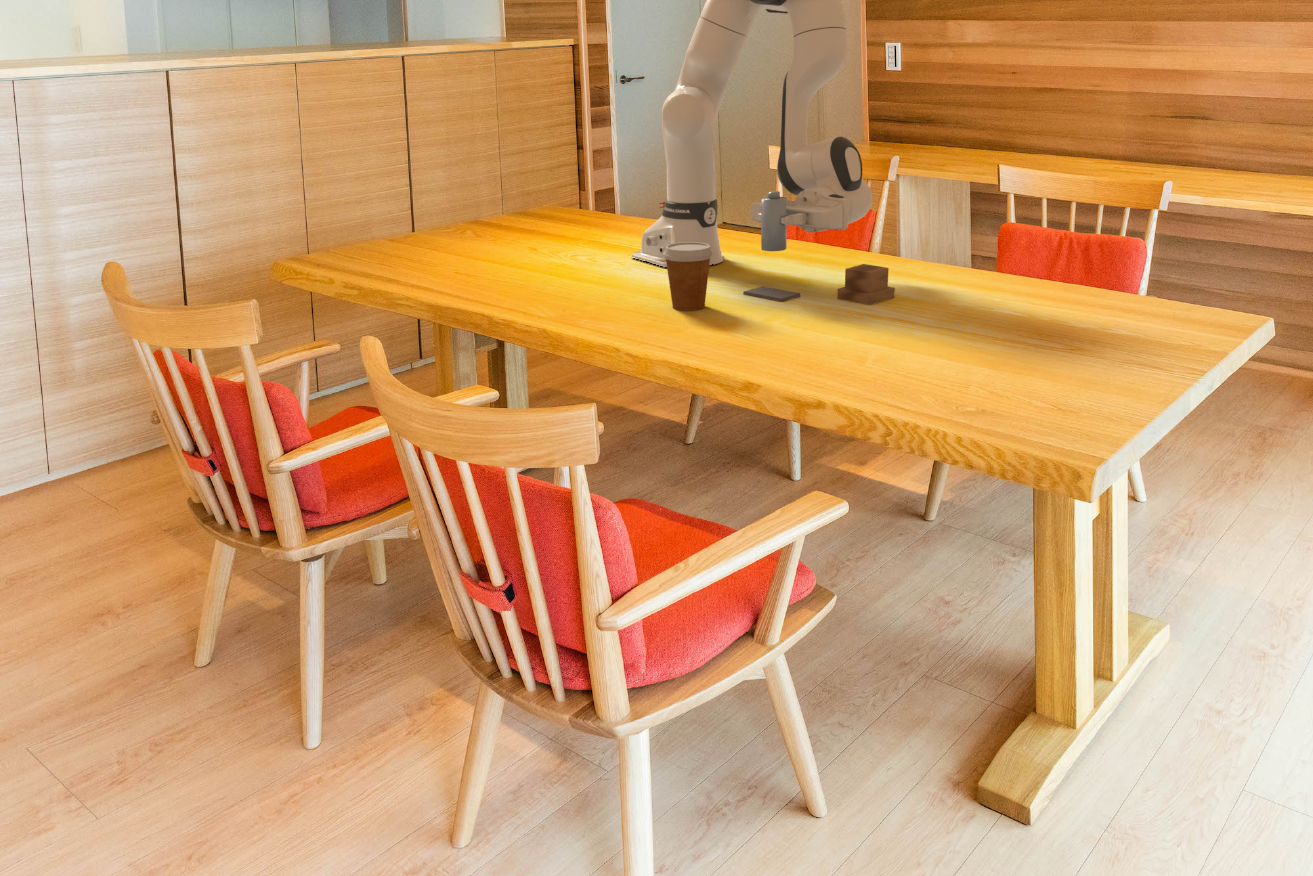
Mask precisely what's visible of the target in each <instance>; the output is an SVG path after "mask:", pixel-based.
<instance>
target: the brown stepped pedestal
mask: <svg viewBox="0 0 1313 876" xmlns="http://www.w3.org/2000/svg"><path fill="white" fill-rule="evenodd" d="M889 270H890V269H889V267H885V266H879V265H873V264H867V263H862V264H858V265H854V266H852V267H847V268H845V270H844V271H845V273H844V274H845V276H844V277H845V278H844V286H843V287H840V288H837V300H842V301H847V302H853V303H858V304H859V303H860V304H863V305H869V306H871V305H874V304H878V303H881V302H884V301H887V300H891V299H893V298H895V292H896V291H895V289H896V288H895V287H893V286H889Z"/></svg>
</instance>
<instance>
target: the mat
mask: <svg viewBox="0 0 1313 876" xmlns="http://www.w3.org/2000/svg"><path fill="white" fill-rule="evenodd" d="M743 295H745V296H751V297H757V298H762V299H766V300H770V301H771V300H772V301H777V302H785V301H789V300H793V299H796V298H798V297H801V292H796V291H791V290H786V289H785V290H784V289H779V288H775V287H769V286H764V285H762V286H758V287H755V288H751V289H746V290H744V291H743Z"/></svg>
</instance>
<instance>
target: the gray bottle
mask: <svg viewBox="0 0 1313 876" xmlns="http://www.w3.org/2000/svg"><path fill="white" fill-rule="evenodd" d="M780 192H781V191H778V190H777V191H775V190H773V191H767V196H765V197H762V198H760V201H761V222H760V227H761V228H760V229H761V231H760V232H761V233H760V234H761V235H760V237H761V238H760V239H761V241H760V243H761V244H760V246H761V247H760V248H761V249H760V250H762V251H764V252H781V251H786V250H787V226H786V225H781V216H784V215H786V201H787V197H785V196H781V193H780Z"/></svg>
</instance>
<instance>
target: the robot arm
mask: <svg viewBox="0 0 1313 876" xmlns="http://www.w3.org/2000/svg"><path fill="white" fill-rule="evenodd" d="M762 11H766V12H767V13H776V14H785V15H786V14H788V15H789V18H790V21H791V28H792V29H791V30H792V39H793V40H792V41H793V43H792V44H793V45H792V47H793V48H792V49H793V51H792V57H791V62H790V65H789V66H790V67H789V69H788V71H787V72H786V74H785V76H784V78H783V84H782V85H783V86H782V98H781V99H782V102H781V104H782V105H781V124H780V126H781V127H780V128H781V129H780V133H781V134H780V148H779V149H780V150H779V154H778V159H777V165H776V173H777V177H778V178H777V179H778V180H779V182H780V184H781V185H782V187H784V189H785V190H787V191H788V192H789V193H790V194H792V195H795V196H796V197H795V199H794V200H793V201H792V200H786V215H784V216H781V225H786V227H789V226H794V227H799V228H800V229H801V230H802V231H805V232H806V233H817V232H824V231H844V230H847V229H848V228H849V224H852V223H855V222H857V221H859V220H860V219H862V218H863V217H865V216H866V215H867V213H869V212H870V209H871V208H872V205H873V202H874V201H873V200H874V199H873V197H874V196H873V192H872V189H871V187H870V186H869V185H868V183H867V182H866V181H865V180H864V178H863V162H862V156H861V154H860V151H859V150H858V148H857V147H856V145H855V144H854V143H853V142H852V141H851V140H849V138H846V137H844V136H836V137H832V138H828V139H823V140H821V141H817V142H813V143H808V134H809V133H808V127H809V109H810V104H811V102H812V99H813V98H814V96H815V95H816V93H818V91H819V90H820V89H821V88H822V87H823V86H825V84H827V83H828V82H829V81H831V80H832V79H833V78H835V77H836V76H837V75H838V74H839V72H840V71H841V70H842V68H843V67H844V65H845V64H846V61H847V57H848V53H849V52H848V51H849V42H848V41H849V40H848V30H847V21H846V14H845V11H844V5H843V2H842V0H706V1H705V3H704V6H703V8H702V11H701V13H700V15H699V17H698V21H697V24H696V26H695V29H694V31H693V34H692V36H691V39H690V40H689V41H690V42H689V45H688V47H687V49H686V52H685V57H684V61H683V63H682V67H681V70H680V73H679V77H678V79H677V83H676V86H675V89H674V91H672V93H670V94H668V96H667V97H666V98H665V100H664V102H663V104H662V108H661V126H662V127H661V129H662V139H663V147H664V148H663V149H664V157H665V164H666V165H665V166H666V168H665V169H666V193H667V194H666V200H665V201H664V202H663V201H662V202H658V205H659V206H658V209H662V212H661V216H660V217H659V218H658V219H657V220H656V221H655V222H653V223H652V224H651V225H650V226H649V227H648V228H647V229H645V231H644V232H643V234H642V236H641V248H640V249H641V250H638V251H635V252H633V253H631V258H632V257H635V258H637V259H641V260H645V261H647V262H651V263H653V264H656V265H655V266H657V265H659V266H658V267H660V266H663V267H662V268H665V267H667V263H666V259H665V256H664V254H663V253H664V252H665V248H666V246H667V245H669V244H673V243H680V242H699V243H706V244H708V245H710V248H711V251H712V252H713V253H712V255H711V258H710V263H709V266H712V264H713V265H716V264H720V263H721V262H723V261H724V258H723V253H722V251H721V246H720V245H721V244H720V239H719V229H718V222H717V217H718V214H719V213H718V210H719V209H718V208H719V205H718V199H717V198H716V160H715V152H714V150H715V149H714V135H713V126H714V124H715V121H716V120H717V117H718V114H719V112H720V110H721V106H722V104H723V101H724V98H725V95H726V93H727V90H728V86H729V84H730V81H731V78H732V76H733V72H734V70H735V67H736V65H737V63H738V60H739V57H740V55H741V52H742V50H743V48H744V45H745V42H746V39H747V37H748V34H749V32H750V29H751V27H752V24H753V23H754V20H755V18H756V17H757V16H758V14H759V13H761V12H762ZM750 218H751V221H754V222H758V223H761V200H760V201H755V202H752V203H751V205H750ZM653 264H652V265H653Z"/></svg>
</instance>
